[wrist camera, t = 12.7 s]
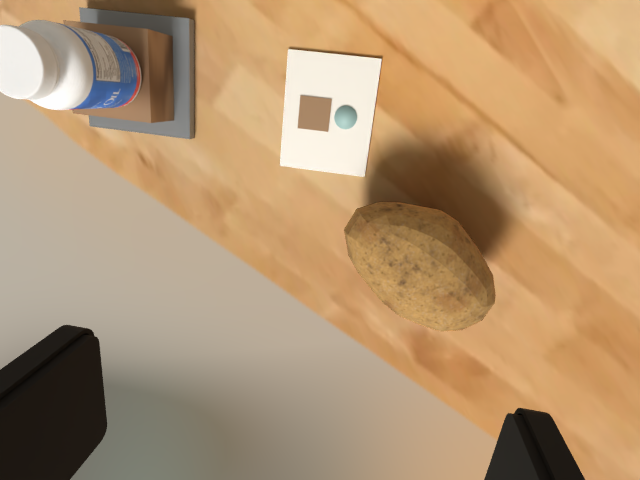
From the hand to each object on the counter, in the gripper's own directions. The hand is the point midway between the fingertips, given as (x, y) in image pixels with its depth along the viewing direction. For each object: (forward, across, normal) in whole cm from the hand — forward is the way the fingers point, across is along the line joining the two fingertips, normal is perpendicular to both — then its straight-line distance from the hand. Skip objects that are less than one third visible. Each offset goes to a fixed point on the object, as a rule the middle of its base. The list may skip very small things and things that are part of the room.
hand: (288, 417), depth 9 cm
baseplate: (+30, +21, -6) cm, 37 cm away
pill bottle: (+26, +21, -6) cm, 33 cm away
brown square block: (+29, +21, -6) cm, 37 cm away
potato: (+31, -6, +6) cm, 32 cm away
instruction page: (+30, +4, -5) cm, 31 cm away
